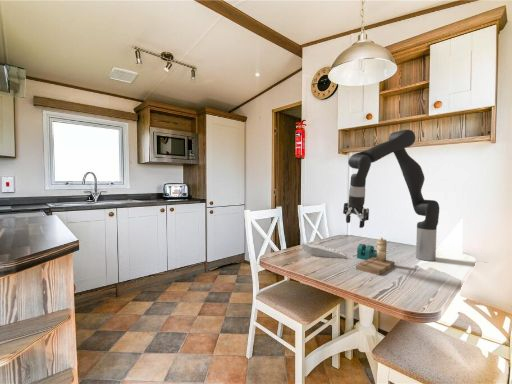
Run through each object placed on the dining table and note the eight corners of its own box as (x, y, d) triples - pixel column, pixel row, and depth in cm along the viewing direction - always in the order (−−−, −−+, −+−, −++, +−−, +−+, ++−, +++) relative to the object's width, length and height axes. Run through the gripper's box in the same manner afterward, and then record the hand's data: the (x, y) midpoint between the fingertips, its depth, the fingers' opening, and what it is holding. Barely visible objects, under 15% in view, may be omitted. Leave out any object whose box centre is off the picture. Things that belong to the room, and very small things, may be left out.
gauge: (378, 258, 136) (379, 236, 135) (387, 260, 132) (388, 237, 132) (374, 260, 133) (375, 237, 132) (384, 262, 129) (384, 239, 129)
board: (372, 260, 139) (373, 256, 139) (394, 265, 131) (394, 261, 131) (356, 269, 125) (356, 264, 125) (379, 275, 117) (379, 270, 117)
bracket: (369, 261, 138) (369, 247, 138) (357, 258, 143) (357, 244, 143) (382, 255, 150) (382, 241, 150) (370, 252, 155) (371, 239, 155)
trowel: (350, 255, 149) (350, 246, 149) (342, 262, 137) (342, 252, 136) (306, 248, 166) (307, 239, 166) (295, 253, 153) (295, 244, 153)
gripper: (374, 196, 123) (371, 228, 127) (351, 191, 135) (349, 219, 139) (363, 198, 120) (360, 230, 123) (340, 192, 132) (338, 222, 136)
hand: (354, 225), depth 131 cm, fingers open, 8 cm apart
